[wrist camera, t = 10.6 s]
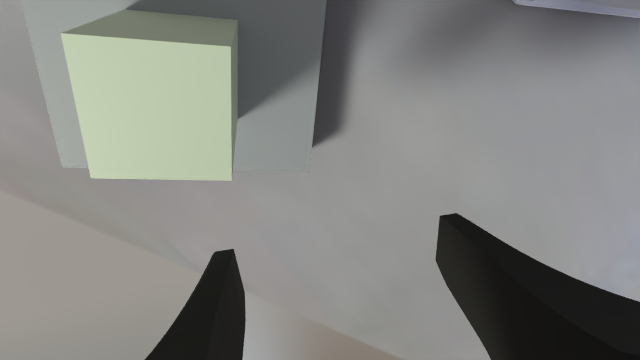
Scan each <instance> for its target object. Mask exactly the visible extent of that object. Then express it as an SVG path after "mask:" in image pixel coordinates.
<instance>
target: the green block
mask: <svg viewBox="0 0 640 360" xmlns="http://www.w3.org/2000/svg"><path fill="white" fill-rule="evenodd" d="M61 38H62V43H63V47H64V52H65V57H66V62H67V66H68V71H69V76H70V81H71V86H72V90H73V95H74V100H75V105H76V110H77V114H78V119H79V124H80V129H81V134H82V138H83V143H84V148H85V153H86V157H87V162H88V167H89V172H90V177H91V178H107V179H166V180H224V181H232V173H233V162H234V152H235V142H236V131H237V121H238V20H234V19H223V18H213V17H202V16H191V15H180V14H169V13H158V12H148V11H137V10H126V9H124V10H121V11H119V12H116V13H113V14H111V15H108V16H105V17H103V18H100V19H97V20H95V21H92V22H89V23H86V24H84V25H81V26H78V27H76V28H73V29H70V30H68V31H65V32H62V33H61Z"/></svg>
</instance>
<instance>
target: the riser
mask: <svg viewBox="0 0 640 360" xmlns="http://www.w3.org/2000/svg"><path fill="white" fill-rule="evenodd" d="M326 3H327V0H21V4H22V8H23V12H24V16H25V20H26V24H27V28H28V32H29V36H30V40H31V44H32V48H33V52H34V56H35V60H36V64H37V68H38V73H39V77H40V81H41V85H42V89H43V93H44V97H45V101H46V105H47V109H48V113H49V117H50V121H51V125H52V129H53V133H54V137H55V141H56V145H57V149H58V153H59V157H60V161H61V165H62V167H73V168H89V167H88V162H87V157H86V153H85V148H84V143H83V138H82V134H81V129H80V124H79V119H78V114H77V110H76V105H75V100H74V95H73V90H72V86H71V81H70V76H69V71H68V66H67V62H66V57H65V52H64V47H63V43H62V38H61V33H62V32H65V31H68V30H70V29H73V28H76V27H78V26H81V25H84V24H86V23H89V22H92V21H95V20H97V19H100V18H103V17H105V16H108V15H111V14H113V13H116V12H119V11H121V10H124V9H126V10H137V11H148V12H158V13H169V14H180V15H191V16H202V17H213V18H223V19H234V20H238V121H237V131H236V142H235V152H234V162H233V171H276V172H309V171H310V161H311V151H312V142H313V132H314V122H315V112H316V102H317V92H318V82H319V72H320V62H321V53H322V43H323V33H324V23H325V13H326Z"/></svg>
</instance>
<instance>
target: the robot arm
mask: <svg viewBox="0 0 640 360" xmlns="http://www.w3.org/2000/svg"><path fill="white" fill-rule="evenodd" d="M512 1H513V2H514V3H515V4H518V5H526V6H535V7H544V8H553V9H562V10H571V11H580V12H589V13H598V14H607V15H616V16H625V17H634V18H640V0H512ZM436 262H437V264H438V267H439V269H440V271H441V274H442V276H443V278H444V280H445V282H446V284H447V286H448V288H449V290H450V291H451V293H452V295H453V296H454V298H455V300H456V301H457V303H458V304H459V306H460V308H461V309H462V311H463V312H464V314H465V316H466V317H467V319H468V320H469V322H470V324H471V325H472V327H473V329H474V330H475V332H476V333H477V335H478V337H479V338H480V340H481V342H482V343H483V345H484V347H485V349H486V350H487V352H488V354H489V356H490V358H491V360H640V302H638V301H635V300H632V299H629V298H626V297H623V296H620V295H617V294H614V293H611V292H608V291H606V290H603V289H600V288H598V287H595V286H593V285H590V284H587V283H585V282H582V281H580V280H578V279H575V278H573V277H571V276H568V275H566V274H564V273H562V272H560V271H557V270H555V269H553V268H551V267H549V266H547V265H545V264H543V263H541V262H539V261H537V260H535V259H533V258H531V257H529V256H527V255H526V254H524V253H522V252H520V251H518V250H517V249H515V248H513V247H511V246H510V245H508V244H506V243H504V242H503V241H501V240H499V239H498V238H496V237H495V236H493V235H491V234H490V233H488V232H486V231H485V230H483V229H482V228H480V227H478V226H477V225H475V224H474V223H472V222H470V221H469V220H467V219H466V218H464V217H462V216H461V215H459V214H457V213H455V214H449V215H442V216H440V220H439V230H438V241H437V251H436ZM244 334H245V292H244V288H243V284H242V280H241V276H240V272H239V268H238V264H237V261H236V257H235V253H234V249H230V250H223V251H217V252H215V253H214V254H213V255H212V257H211V259H210V261H209V263H208V265H207V267H206V269H205V271H204V273H203V275H202V277H201V279H200V281H199V283H198V284H197V286H196V288H195V289H194V291H193V293H192V294H191V296H190V298H189V300H188V301H187V303H186V304H185V306H184V307H183V309H182V310H181V312H180V314H179V315H178V317H177V318H176V320H175V321H174V323H173V324H172V325H171V327H170V328H169V330H168V331H167V333H166V334H165V335H164V336H163V338H162V339H161V341H160V342H159V343H158V344H157V346H156V347H155V348H154V349H153V351H152V352H151V353H150V354H149V355H148V357H147V358H146V359H145V360H242V357H243V346H244Z"/></svg>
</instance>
